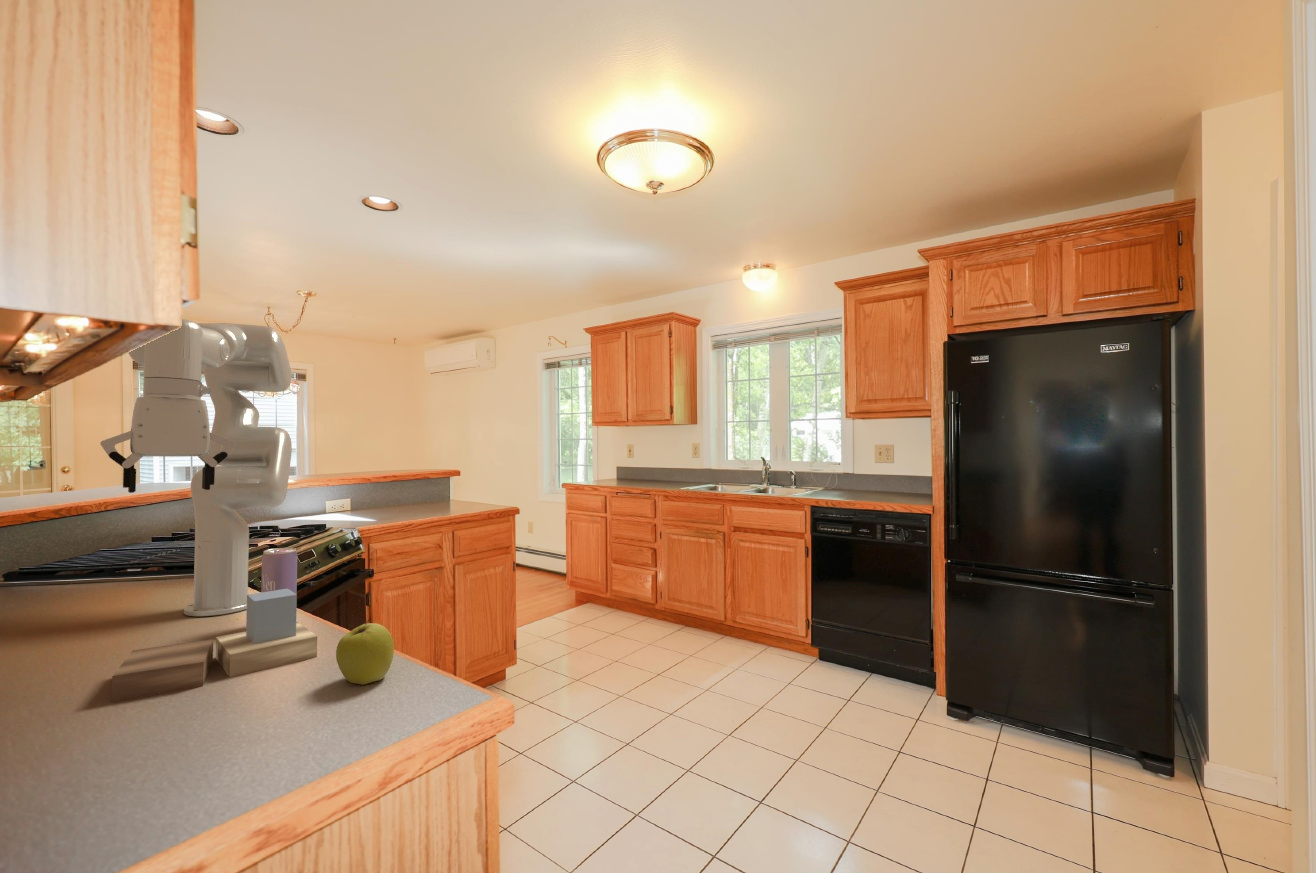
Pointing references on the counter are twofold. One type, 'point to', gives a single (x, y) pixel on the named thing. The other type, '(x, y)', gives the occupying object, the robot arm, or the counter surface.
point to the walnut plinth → (162, 670)
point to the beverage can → (279, 569)
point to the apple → (365, 653)
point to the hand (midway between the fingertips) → (170, 490)
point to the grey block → (271, 615)
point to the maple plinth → (263, 651)
